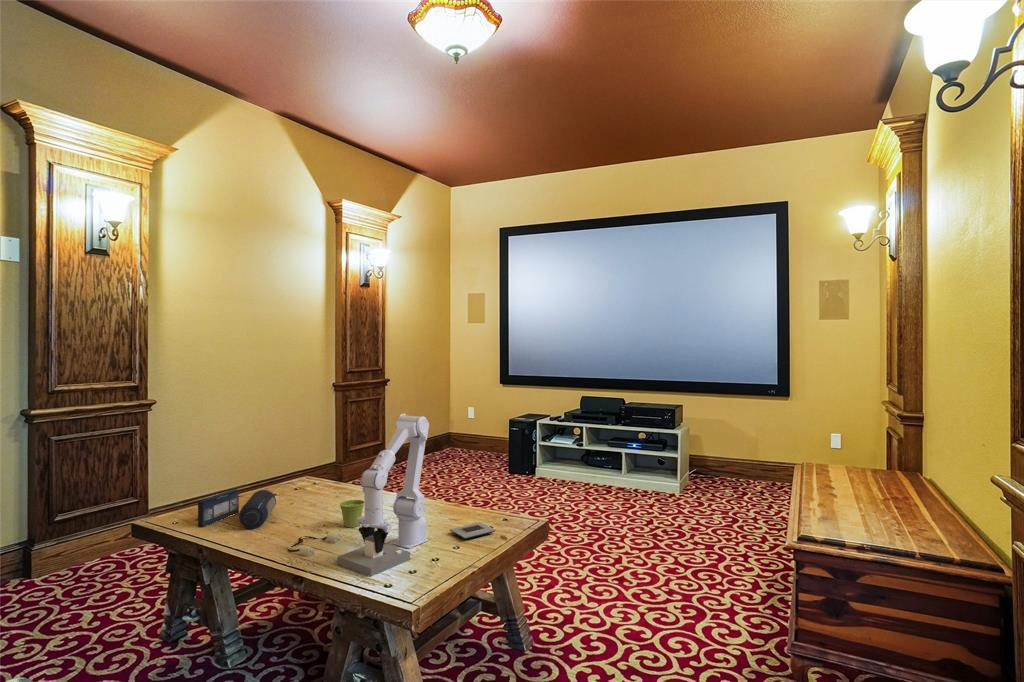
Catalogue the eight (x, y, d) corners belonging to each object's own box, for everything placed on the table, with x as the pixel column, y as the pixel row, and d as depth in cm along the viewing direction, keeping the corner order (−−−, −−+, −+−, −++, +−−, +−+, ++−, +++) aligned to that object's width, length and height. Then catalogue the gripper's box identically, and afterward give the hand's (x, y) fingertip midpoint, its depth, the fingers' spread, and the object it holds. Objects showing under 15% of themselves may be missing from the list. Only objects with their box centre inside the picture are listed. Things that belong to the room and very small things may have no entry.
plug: (374, 555, 183) (374, 534, 183) (383, 558, 181) (383, 536, 181) (364, 559, 180) (364, 537, 180) (373, 562, 178) (373, 540, 178)
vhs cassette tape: (202, 527, 215) (202, 501, 215) (196, 527, 216) (196, 501, 216) (240, 513, 233) (239, 489, 232) (234, 513, 233) (234, 488, 233)
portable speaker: (265, 530, 212) (265, 503, 212) (236, 532, 210) (236, 505, 210) (278, 510, 236) (277, 486, 236) (252, 512, 234) (252, 488, 234)
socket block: (377, 549, 192) (376, 540, 192) (410, 559, 182) (410, 550, 182) (337, 564, 179) (337, 554, 179) (371, 576, 169) (370, 566, 169)
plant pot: (339, 523, 219) (339, 500, 219) (364, 520, 222) (364, 498, 222) (339, 530, 211) (339, 507, 210) (365, 527, 213) (365, 504, 213)
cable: (272, 553, 190) (272, 543, 190) (306, 537, 205) (306, 528, 205) (309, 559, 184) (309, 548, 184) (341, 542, 200) (341, 532, 200)
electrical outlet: (464, 543, 198) (464, 536, 198) (449, 534, 206) (449, 528, 206) (495, 535, 206) (495, 528, 206) (479, 527, 214) (479, 521, 214)
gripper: (348, 506, 181) (349, 549, 181) (379, 514, 173) (379, 559, 173) (366, 501, 187) (366, 542, 187) (396, 509, 179) (397, 552, 179)
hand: (374, 550), depth 180 cm, fingers open, 4 cm apart
